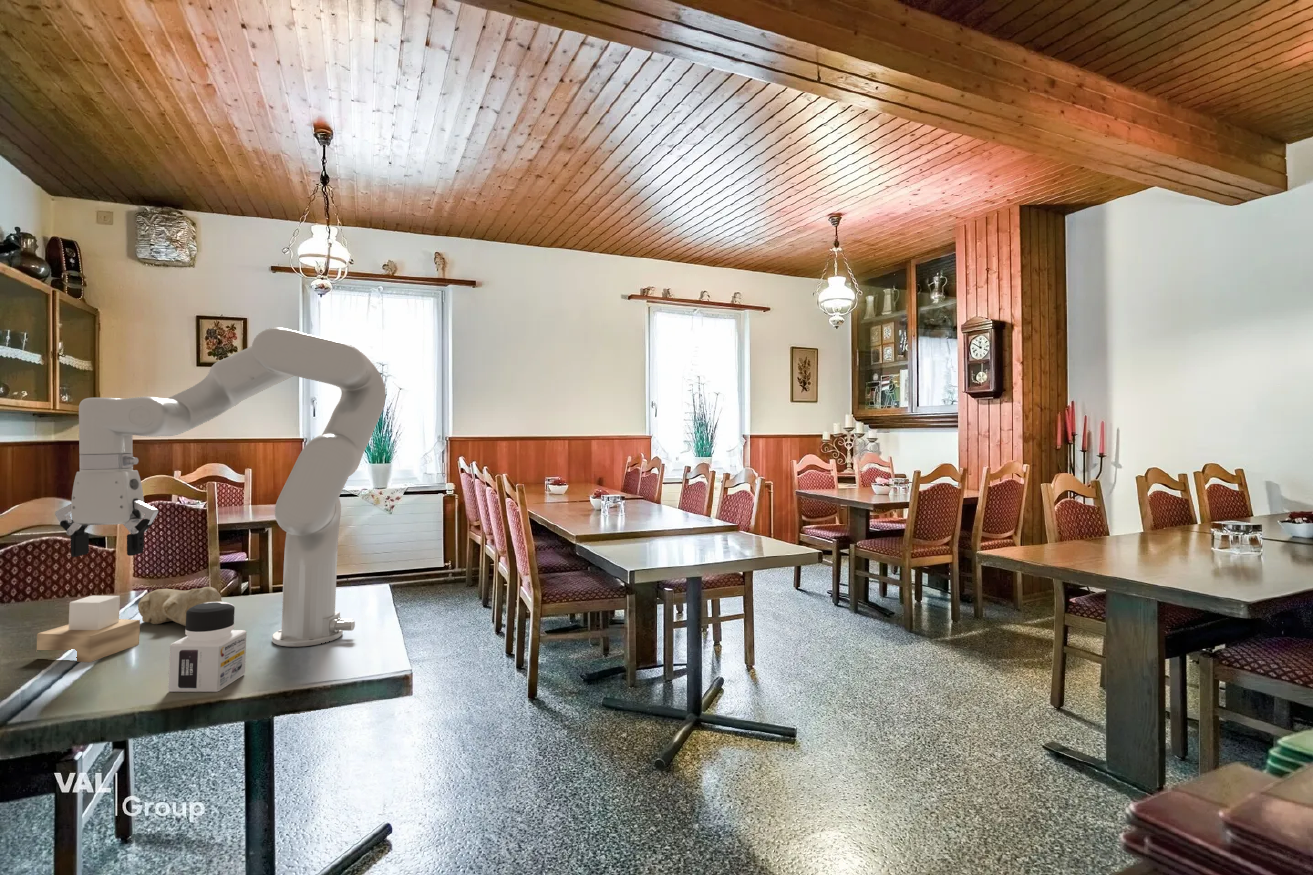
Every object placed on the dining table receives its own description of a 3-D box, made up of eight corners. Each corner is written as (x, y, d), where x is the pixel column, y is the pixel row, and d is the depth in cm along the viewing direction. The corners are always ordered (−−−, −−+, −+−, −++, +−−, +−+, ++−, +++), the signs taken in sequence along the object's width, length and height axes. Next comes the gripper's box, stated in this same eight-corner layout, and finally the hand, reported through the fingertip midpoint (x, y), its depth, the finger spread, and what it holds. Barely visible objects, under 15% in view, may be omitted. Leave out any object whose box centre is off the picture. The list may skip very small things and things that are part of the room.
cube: (118, 622, 119) (120, 595, 119) (98, 629, 114) (99, 602, 114) (90, 621, 119) (91, 595, 119) (68, 629, 114) (69, 602, 114)
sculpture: (172, 623, 125) (209, 579, 131) (118, 610, 131) (156, 569, 137) (204, 643, 131) (237, 600, 137) (151, 629, 137) (186, 589, 143)
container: (218, 692, 100) (221, 611, 100) (166, 692, 99) (170, 610, 100) (245, 674, 108) (248, 598, 108) (198, 674, 107) (201, 598, 107)
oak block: (139, 645, 121) (140, 619, 121) (90, 664, 111) (91, 635, 111) (89, 643, 122) (90, 617, 122) (36, 661, 112) (37, 633, 112)
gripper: (169, 462, 122) (170, 550, 122) (74, 463, 121) (75, 552, 121) (141, 464, 114) (142, 557, 115) (39, 465, 113) (40, 560, 113)
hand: (107, 554), depth 118 cm, fingers open, 9 cm apart
